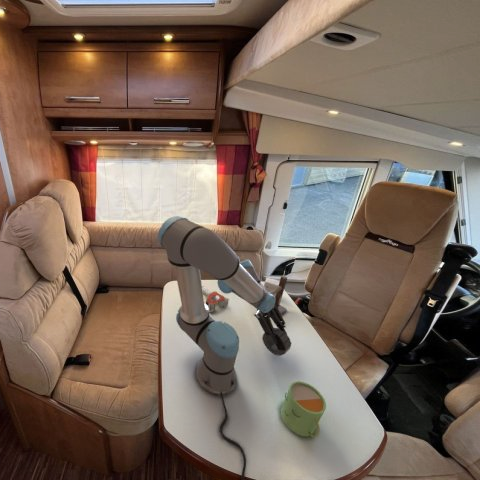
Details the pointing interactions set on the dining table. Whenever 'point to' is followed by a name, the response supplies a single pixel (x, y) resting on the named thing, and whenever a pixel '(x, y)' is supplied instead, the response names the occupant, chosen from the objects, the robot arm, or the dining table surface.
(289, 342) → the tape roll
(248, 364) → the dining table surface
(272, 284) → the small box
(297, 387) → the mug
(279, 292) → the tape stand
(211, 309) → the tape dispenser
